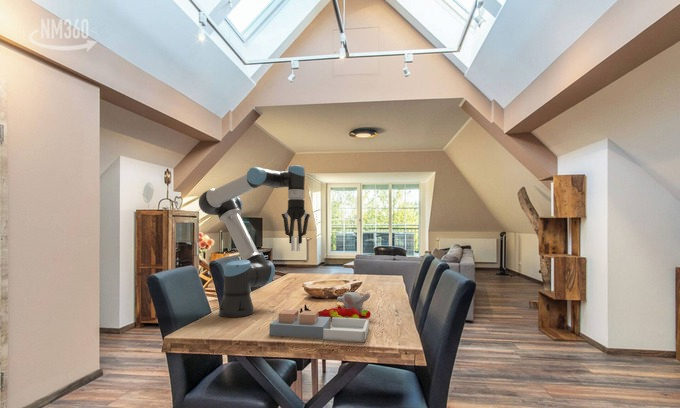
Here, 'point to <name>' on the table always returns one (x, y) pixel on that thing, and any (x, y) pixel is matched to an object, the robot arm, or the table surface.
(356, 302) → the toy
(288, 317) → the tile
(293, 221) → the robot arm
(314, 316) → the tile
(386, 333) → the table surface
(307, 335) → the flat grey box
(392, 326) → the table surface
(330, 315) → the figurine
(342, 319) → the box
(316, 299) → the table surface
